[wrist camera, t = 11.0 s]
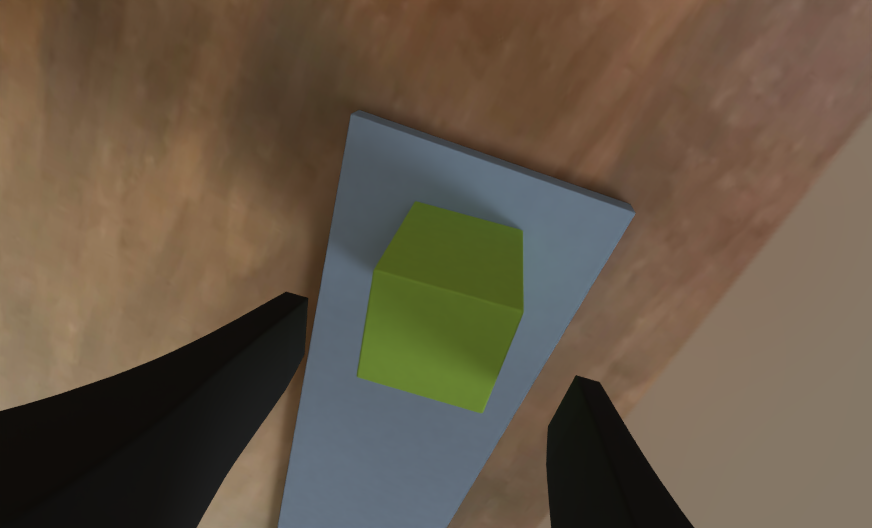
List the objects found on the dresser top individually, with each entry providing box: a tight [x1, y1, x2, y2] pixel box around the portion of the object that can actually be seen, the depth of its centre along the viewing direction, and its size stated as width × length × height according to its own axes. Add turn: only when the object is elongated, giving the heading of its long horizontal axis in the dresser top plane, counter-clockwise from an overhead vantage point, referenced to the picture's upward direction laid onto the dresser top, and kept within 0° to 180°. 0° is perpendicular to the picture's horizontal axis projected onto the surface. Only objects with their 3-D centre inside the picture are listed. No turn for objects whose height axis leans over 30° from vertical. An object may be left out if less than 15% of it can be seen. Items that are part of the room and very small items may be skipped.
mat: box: [277, 110, 635, 528], centre depth 24 cm, size 36×10×1 cm, turn 163°
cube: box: [357, 201, 524, 413], centre depth 14 cm, size 4×4×5 cm
